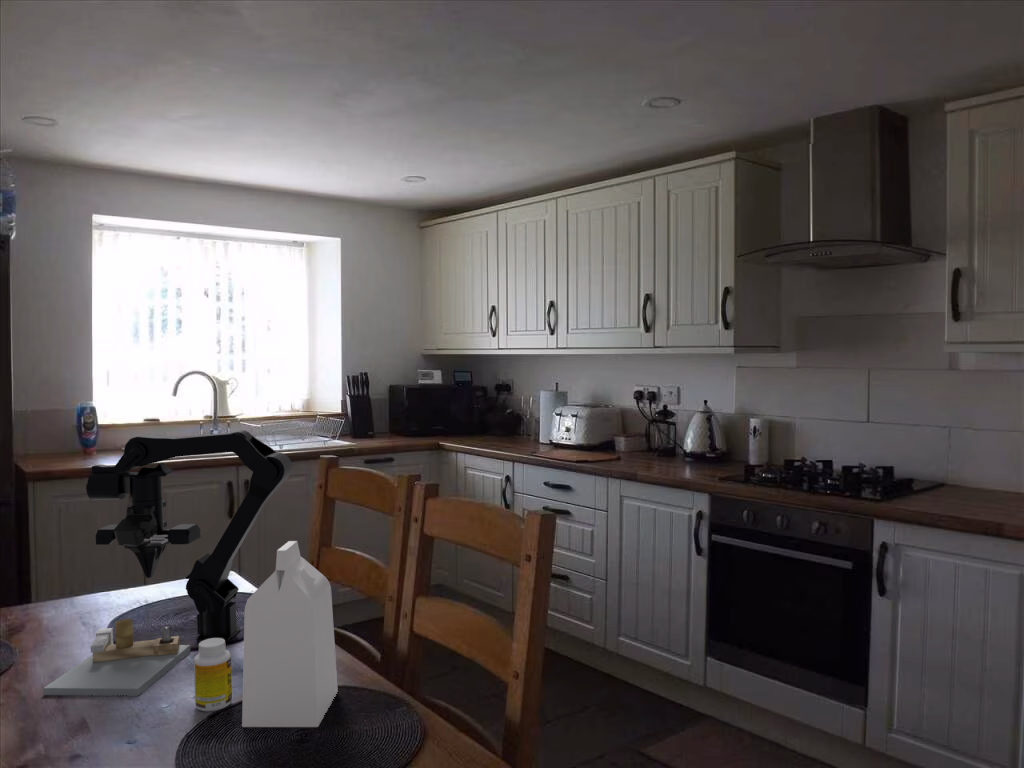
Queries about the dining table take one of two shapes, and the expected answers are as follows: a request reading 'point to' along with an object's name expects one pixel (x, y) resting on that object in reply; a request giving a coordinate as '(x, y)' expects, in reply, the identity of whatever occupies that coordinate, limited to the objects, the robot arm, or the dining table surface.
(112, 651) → the latch bar
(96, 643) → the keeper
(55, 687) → the board
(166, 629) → the peg
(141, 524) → the robot arm
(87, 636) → the dining table surface
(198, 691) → the supplement bottle
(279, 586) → the milk
